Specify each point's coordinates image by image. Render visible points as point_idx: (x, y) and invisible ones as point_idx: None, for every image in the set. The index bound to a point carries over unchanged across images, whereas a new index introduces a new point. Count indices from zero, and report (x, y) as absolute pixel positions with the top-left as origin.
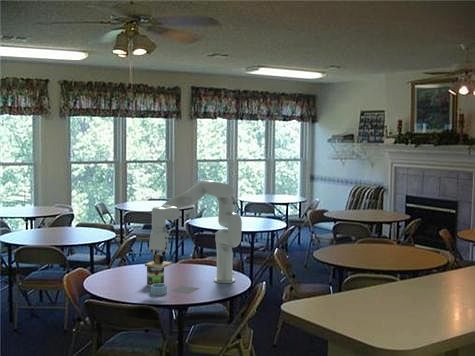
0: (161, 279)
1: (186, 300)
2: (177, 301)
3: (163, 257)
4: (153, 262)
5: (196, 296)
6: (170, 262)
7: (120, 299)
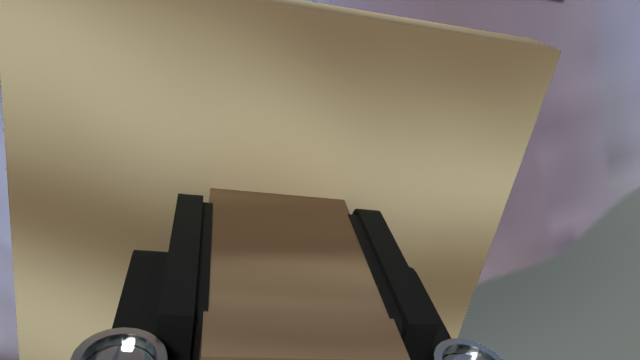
0: None
1: (562, 184)
2: (496, 230)
3: (438, 338)
4: (120, 245)
5: (637, 46)
6: (523, 105)
7: (10, 338)
